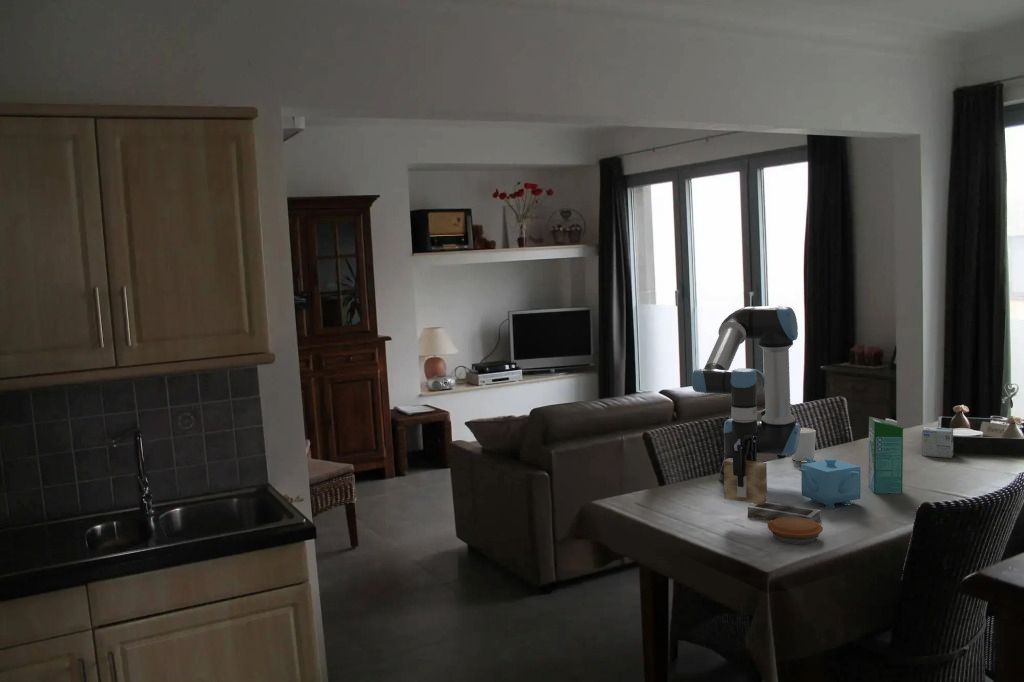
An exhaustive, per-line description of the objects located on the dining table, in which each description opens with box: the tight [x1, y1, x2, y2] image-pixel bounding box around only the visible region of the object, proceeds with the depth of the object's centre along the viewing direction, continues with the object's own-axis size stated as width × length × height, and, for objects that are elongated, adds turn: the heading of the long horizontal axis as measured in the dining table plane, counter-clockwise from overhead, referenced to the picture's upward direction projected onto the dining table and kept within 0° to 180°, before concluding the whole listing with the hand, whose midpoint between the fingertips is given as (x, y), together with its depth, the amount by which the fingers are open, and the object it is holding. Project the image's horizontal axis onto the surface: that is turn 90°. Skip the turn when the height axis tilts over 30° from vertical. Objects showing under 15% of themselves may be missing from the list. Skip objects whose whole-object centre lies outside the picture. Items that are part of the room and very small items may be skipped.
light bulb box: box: [921, 426, 954, 459], centre depth 335 cm, size 11×7×11 cm, turn 58°
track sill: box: [747, 501, 822, 523], centre depth 264 cm, size 20×9×3 cm, turn 51°
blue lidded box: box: [797, 457, 862, 509], centre depth 278 cm, size 19×19×15 cm
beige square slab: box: [723, 458, 768, 505], centre depth 258 cm, size 12×4×12 cm, turn 51°
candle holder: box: [791, 427, 817, 462], centre depth 336 cm, size 10×10×12 cm
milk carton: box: [868, 416, 904, 495], centre depth 289 cm, size 9×9×25 cm
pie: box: [767, 517, 824, 545], centre depth 246 cm, size 16×16×5 cm
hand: (745, 494), depth 258 cm, fingers closed on beige square slab, 4 cm apart
